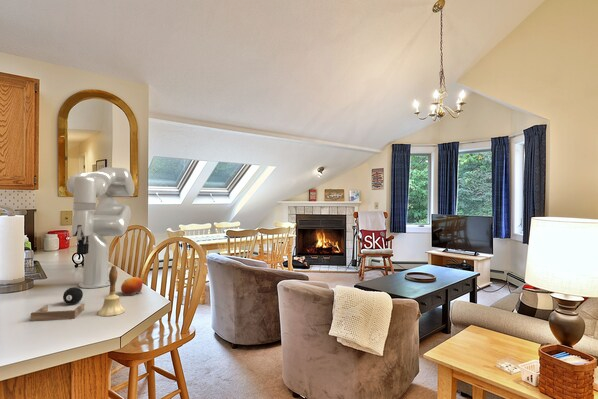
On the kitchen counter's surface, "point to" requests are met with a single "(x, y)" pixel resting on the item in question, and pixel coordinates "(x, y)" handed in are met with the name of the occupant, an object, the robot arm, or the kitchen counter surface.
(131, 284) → the fruit
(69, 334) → the kitchen counter surface
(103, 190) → the robot arm
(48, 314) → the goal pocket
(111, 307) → the hand bell
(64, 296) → the billiard ball
